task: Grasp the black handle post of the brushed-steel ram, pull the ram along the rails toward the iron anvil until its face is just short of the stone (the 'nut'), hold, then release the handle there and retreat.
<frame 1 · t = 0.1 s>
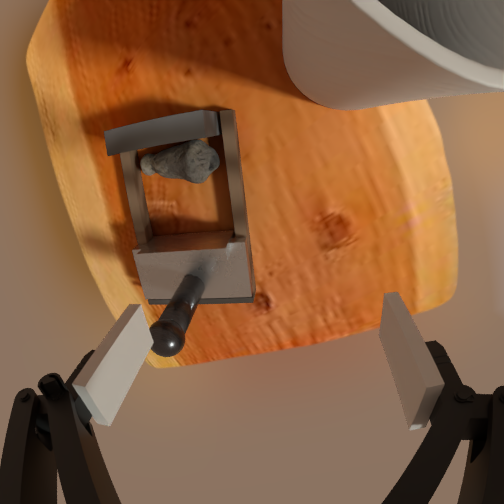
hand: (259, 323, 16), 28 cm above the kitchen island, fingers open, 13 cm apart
grey rectangular frame: (189, 210, 44), on the kitchen island
stone: (184, 162, 41), on the kitchen island
vase: (338, 59, 34), on the kitchen island
ram: (179, 290, 38), point 9 cm above the kitchen island, slide at 0.0 cm
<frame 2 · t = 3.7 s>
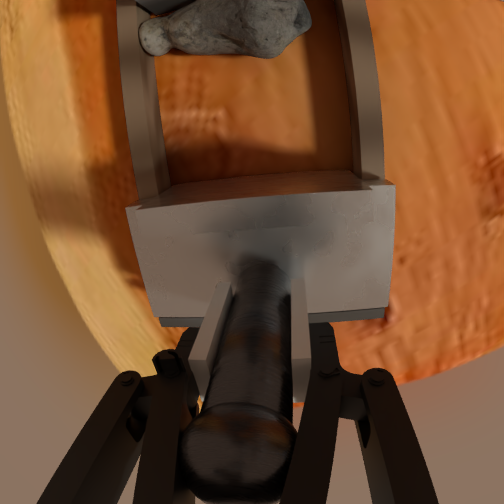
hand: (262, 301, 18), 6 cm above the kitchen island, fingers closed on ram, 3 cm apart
grey rectangular frame: (254, 128, 20), on the kitchen island
stone: (228, 36, 18), on the kitchen island
ram: (253, 300, 14), point 9 cm above the kitchen island, slide at 0.0 cm, touching gripper
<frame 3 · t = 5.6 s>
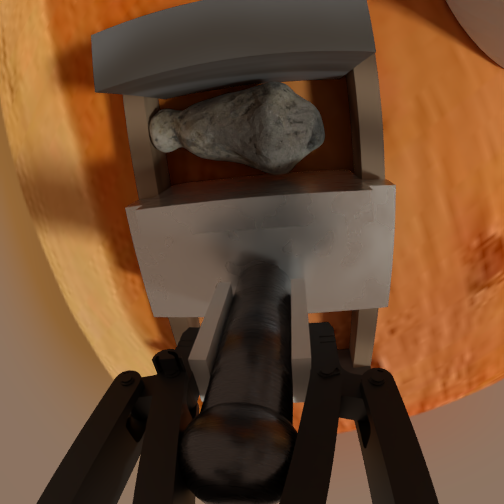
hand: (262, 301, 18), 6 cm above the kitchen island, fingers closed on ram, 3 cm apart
grey rectangular frame: (265, 225, 23), on the kitchen island
stone: (239, 131, 21), on the kitchen island
vase: (498, 4, 13), on the kitchen island
ram: (253, 300, 14), point 9 cm above the kitchen island, slide at 6.9 cm, touching gripper
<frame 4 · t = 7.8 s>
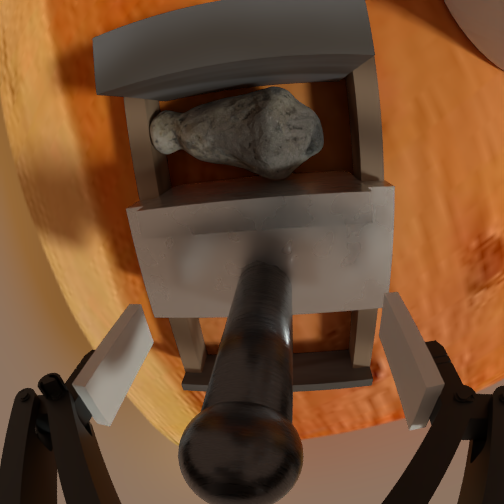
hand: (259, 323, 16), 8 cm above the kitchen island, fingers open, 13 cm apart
grey rectangular frame: (265, 226, 23), on the kitchen island
stone: (239, 134, 21), on the kitchen island
vase: (497, 5, 13), on the kitchen island
ram: (253, 301, 14), point 9 cm above the kitchen island, slide at 7.0 cm
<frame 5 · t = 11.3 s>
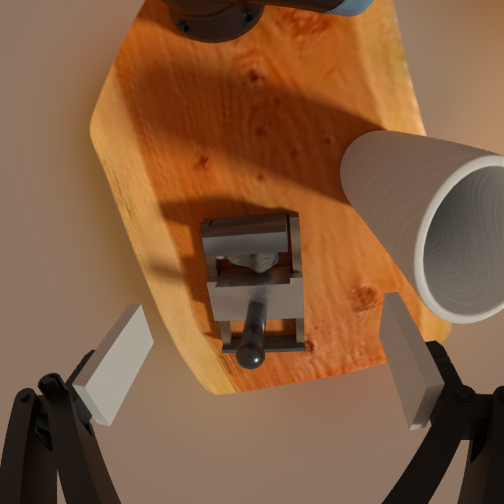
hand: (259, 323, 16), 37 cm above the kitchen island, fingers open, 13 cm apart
grey rectangular frame: (258, 284, 57), on the kitchen island
stone: (247, 249, 55), on the kitchen island
vase: (379, 172, 47), on the kitchen island
ram: (253, 316, 49), point 9 cm above the kitchen island, slide at 7.0 cm
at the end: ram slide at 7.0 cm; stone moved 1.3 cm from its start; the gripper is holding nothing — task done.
